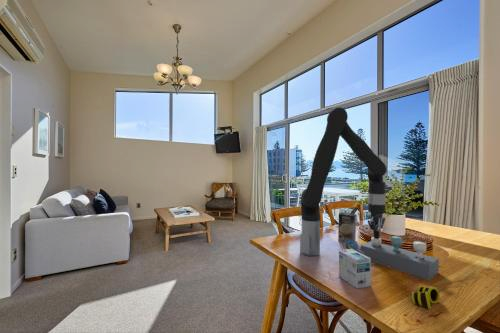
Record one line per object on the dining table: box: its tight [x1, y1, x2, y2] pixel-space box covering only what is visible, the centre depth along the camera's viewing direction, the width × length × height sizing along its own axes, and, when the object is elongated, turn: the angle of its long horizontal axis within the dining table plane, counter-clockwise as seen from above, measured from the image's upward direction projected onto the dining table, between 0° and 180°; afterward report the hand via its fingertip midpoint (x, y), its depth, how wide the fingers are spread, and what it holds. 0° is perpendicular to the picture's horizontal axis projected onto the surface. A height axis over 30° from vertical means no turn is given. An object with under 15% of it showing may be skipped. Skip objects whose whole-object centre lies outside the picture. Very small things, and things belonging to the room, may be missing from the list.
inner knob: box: [370, 236, 383, 247], centre depth 114 cm, size 4×4×8 cm
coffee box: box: [337, 211, 357, 243], centre depth 139 cm, size 9×6×16 cm
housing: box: [359, 240, 440, 281], centre depth 106 cm, size 11×28×6 cm, turn 36°
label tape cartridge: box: [345, 238, 365, 255], centre depth 103 cm, size 9×4×12 cm, turn 9°
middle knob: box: [390, 235, 403, 253], centre depth 106 cm, size 4×4×8 cm
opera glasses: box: [411, 285, 441, 310], centre depth 77 cm, size 10×5×5 cm, turn 126°
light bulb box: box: [338, 248, 372, 289], centre depth 91 cm, size 11×7×11 cm, turn 17°
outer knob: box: [412, 241, 427, 260], centre depth 99 cm, size 4×4×8 cm
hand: (376, 238), depth 114 cm, fingers closed
